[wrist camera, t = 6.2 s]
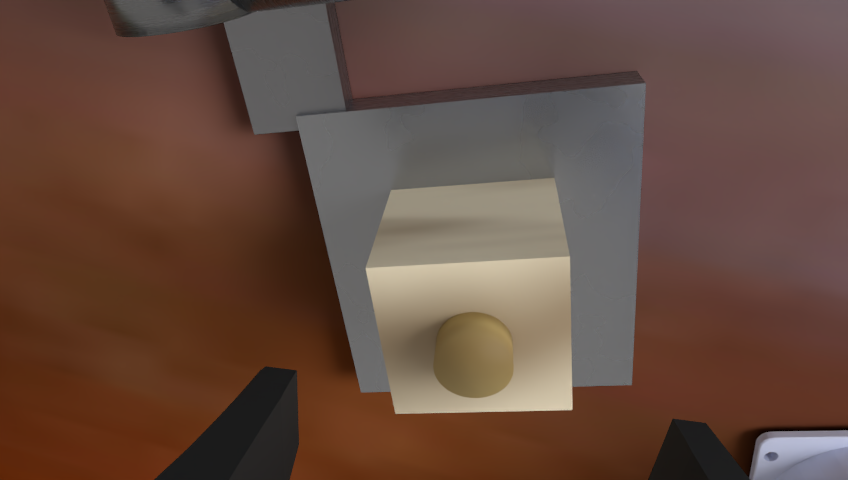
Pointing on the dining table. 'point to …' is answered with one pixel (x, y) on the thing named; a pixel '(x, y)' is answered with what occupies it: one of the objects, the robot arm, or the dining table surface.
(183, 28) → the lever
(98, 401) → the dining table surface
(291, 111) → the grey panel board
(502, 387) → the block
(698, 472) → the robot arm
